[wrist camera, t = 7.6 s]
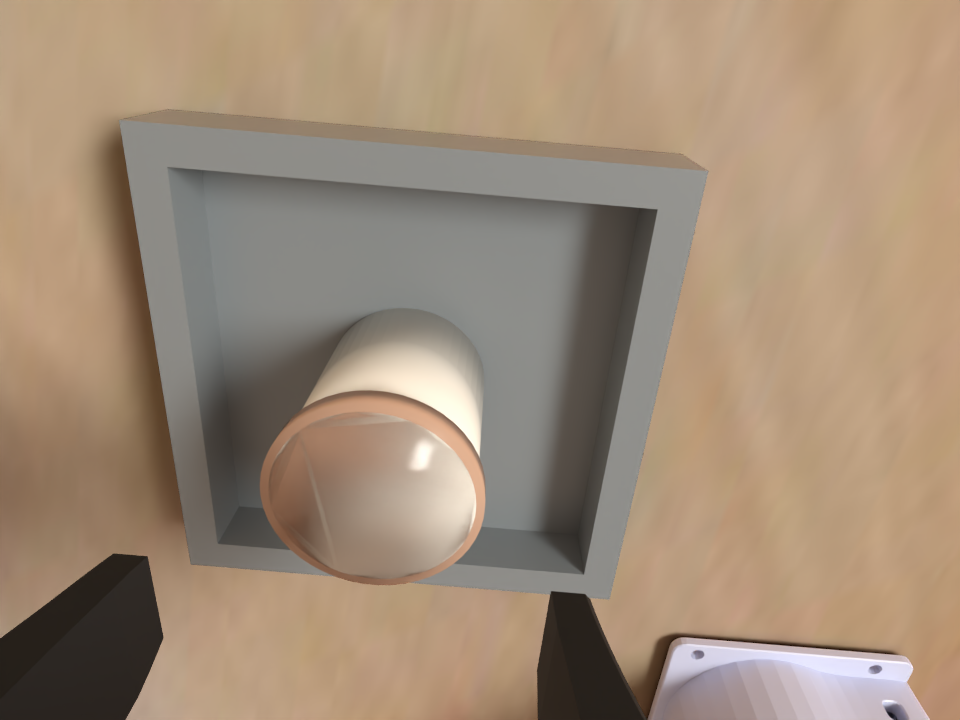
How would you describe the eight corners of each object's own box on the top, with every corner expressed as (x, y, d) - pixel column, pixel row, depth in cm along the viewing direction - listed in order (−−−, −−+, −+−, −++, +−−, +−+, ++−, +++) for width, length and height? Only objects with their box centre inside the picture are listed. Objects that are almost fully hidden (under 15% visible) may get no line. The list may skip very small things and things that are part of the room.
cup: (503, 316, 19) (502, 423, 14) (477, 459, 22) (467, 598, 16) (329, 288, 19) (260, 386, 14) (321, 435, 21) (259, 568, 16)
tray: (682, 154, 18) (707, 171, 15) (599, 546, 24) (609, 599, 22) (168, 109, 18) (119, 120, 15) (220, 515, 24) (190, 564, 22)
